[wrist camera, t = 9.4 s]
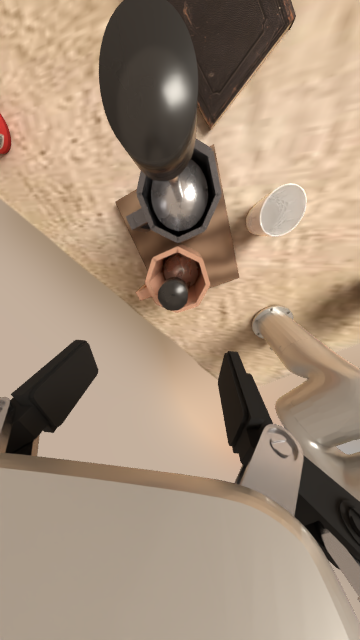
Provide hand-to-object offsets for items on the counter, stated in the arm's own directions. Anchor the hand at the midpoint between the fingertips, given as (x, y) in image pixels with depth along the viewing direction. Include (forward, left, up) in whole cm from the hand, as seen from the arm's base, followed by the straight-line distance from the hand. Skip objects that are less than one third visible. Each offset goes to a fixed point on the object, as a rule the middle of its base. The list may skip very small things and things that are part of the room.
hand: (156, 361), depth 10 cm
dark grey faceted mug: (+12, -3, -35) cm, 38 cm away
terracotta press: (0, +2, -35) cm, 35 cm away
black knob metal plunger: (0, 0, -31) cm, 31 cm away
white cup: (+4, -22, -37) cm, 43 cm away
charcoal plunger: (+12, -5, -22) cm, 26 cm away
